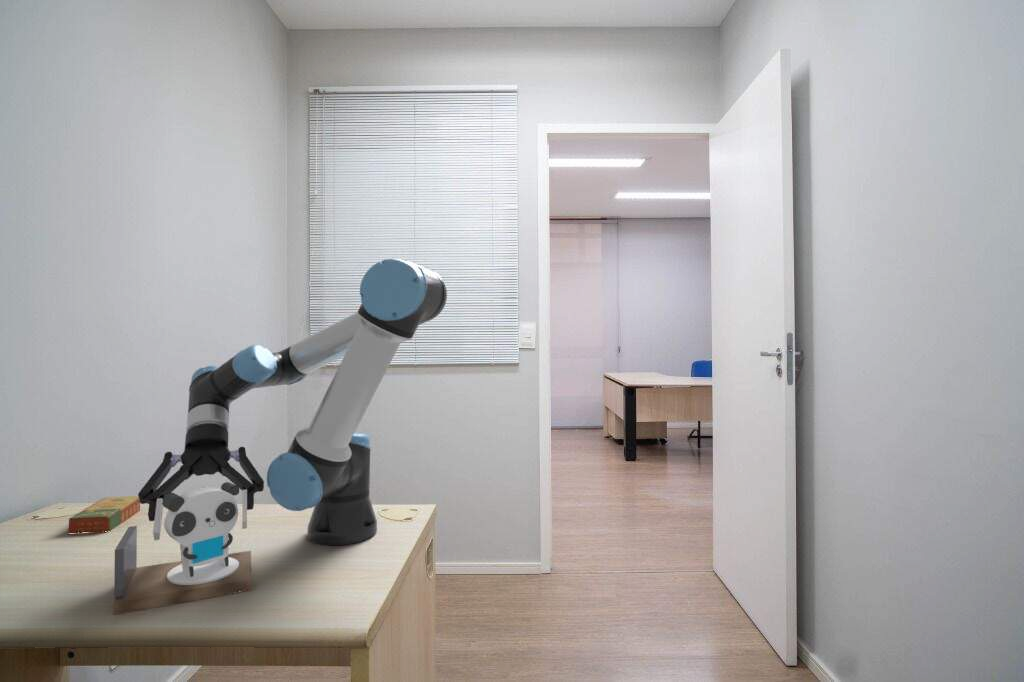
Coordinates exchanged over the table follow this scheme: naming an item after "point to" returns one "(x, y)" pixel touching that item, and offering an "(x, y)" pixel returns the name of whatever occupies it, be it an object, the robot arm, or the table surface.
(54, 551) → the table surface
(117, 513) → the carton
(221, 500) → the panda figurine
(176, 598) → the shelf board
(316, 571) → the table surface
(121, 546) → the bookend
